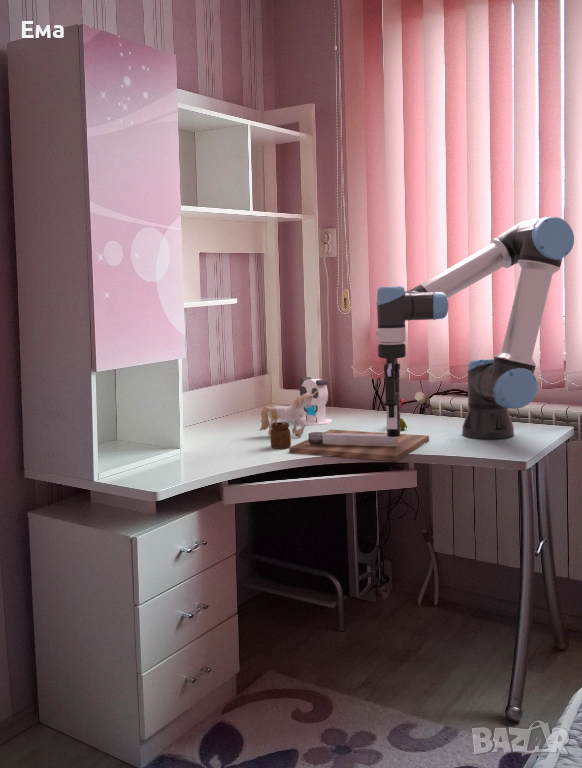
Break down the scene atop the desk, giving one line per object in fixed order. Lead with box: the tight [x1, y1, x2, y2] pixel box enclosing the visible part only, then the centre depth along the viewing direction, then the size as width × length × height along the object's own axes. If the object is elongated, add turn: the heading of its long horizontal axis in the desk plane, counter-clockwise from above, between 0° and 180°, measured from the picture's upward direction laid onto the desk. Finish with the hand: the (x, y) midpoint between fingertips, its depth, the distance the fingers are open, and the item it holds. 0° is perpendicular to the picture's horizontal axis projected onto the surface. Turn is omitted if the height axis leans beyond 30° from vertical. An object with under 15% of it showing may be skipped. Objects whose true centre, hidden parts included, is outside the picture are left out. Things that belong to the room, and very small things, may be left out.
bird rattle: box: [400, 398, 408, 430], centre depth 256 cm, size 6×11×9 cm
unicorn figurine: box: [259, 390, 318, 438], centre depth 249 cm, size 7×20×13 cm, turn 101°
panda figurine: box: [299, 376, 333, 426], centre depth 272 cm, size 12×11×15 cm
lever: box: [307, 391, 401, 446], centre depth 224 cm, size 26×5×14 cm, turn 73°
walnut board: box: [288, 429, 430, 462], centre depth 231 cm, size 32×28×2 cm
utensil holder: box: [269, 408, 292, 450], centre depth 233 cm, size 6×6×12 cm
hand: (393, 427), depth 221 cm, fingers closed on lever, 4 cm apart
